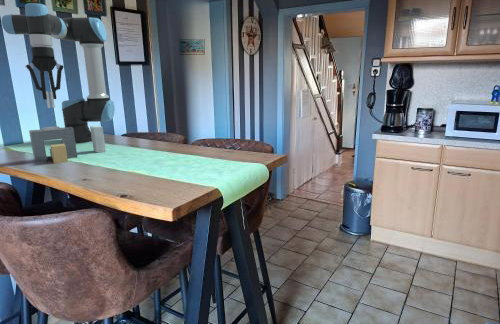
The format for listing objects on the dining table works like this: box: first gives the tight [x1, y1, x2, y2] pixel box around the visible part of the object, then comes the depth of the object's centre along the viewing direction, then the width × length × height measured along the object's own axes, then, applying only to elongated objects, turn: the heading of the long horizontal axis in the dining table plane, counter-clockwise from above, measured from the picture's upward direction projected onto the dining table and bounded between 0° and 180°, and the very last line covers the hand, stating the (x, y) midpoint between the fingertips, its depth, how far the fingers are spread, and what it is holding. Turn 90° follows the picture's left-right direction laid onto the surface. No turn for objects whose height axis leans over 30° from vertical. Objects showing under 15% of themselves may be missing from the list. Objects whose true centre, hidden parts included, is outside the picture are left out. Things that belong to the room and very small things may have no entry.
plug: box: [49, 143, 69, 164], centre depth 147 cm, size 5×16×7 cm, turn 37°
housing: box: [28, 125, 78, 163], centre depth 146 cm, size 16×6×14 cm, turn 127°
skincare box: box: [89, 125, 107, 153], centre depth 161 cm, size 6×4×12 cm
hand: (51, 107), depth 137 cm, fingers closed
